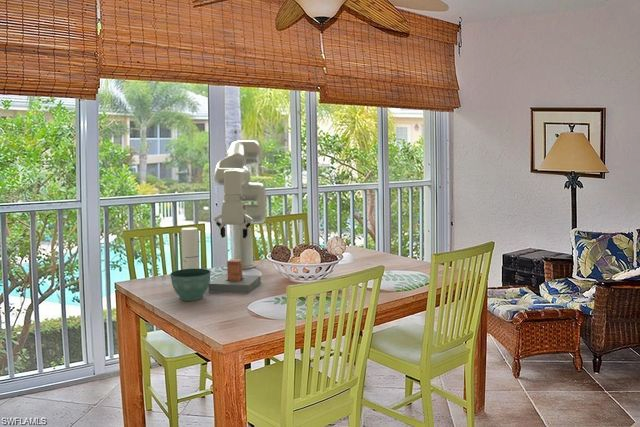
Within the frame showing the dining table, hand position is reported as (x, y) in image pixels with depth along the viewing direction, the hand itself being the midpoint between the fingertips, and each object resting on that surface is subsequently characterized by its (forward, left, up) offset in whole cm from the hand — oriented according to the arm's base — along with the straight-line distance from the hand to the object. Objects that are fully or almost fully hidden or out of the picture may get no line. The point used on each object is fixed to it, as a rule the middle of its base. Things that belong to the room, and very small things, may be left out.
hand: (234, 237), depth 267 cm
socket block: (0, 0, -22) cm, 22 cm away
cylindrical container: (-4, -22, -22) cm, 32 cm away
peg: (0, 0, -22) cm, 22 cm away
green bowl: (+20, -12, -22) cm, 32 cm away
